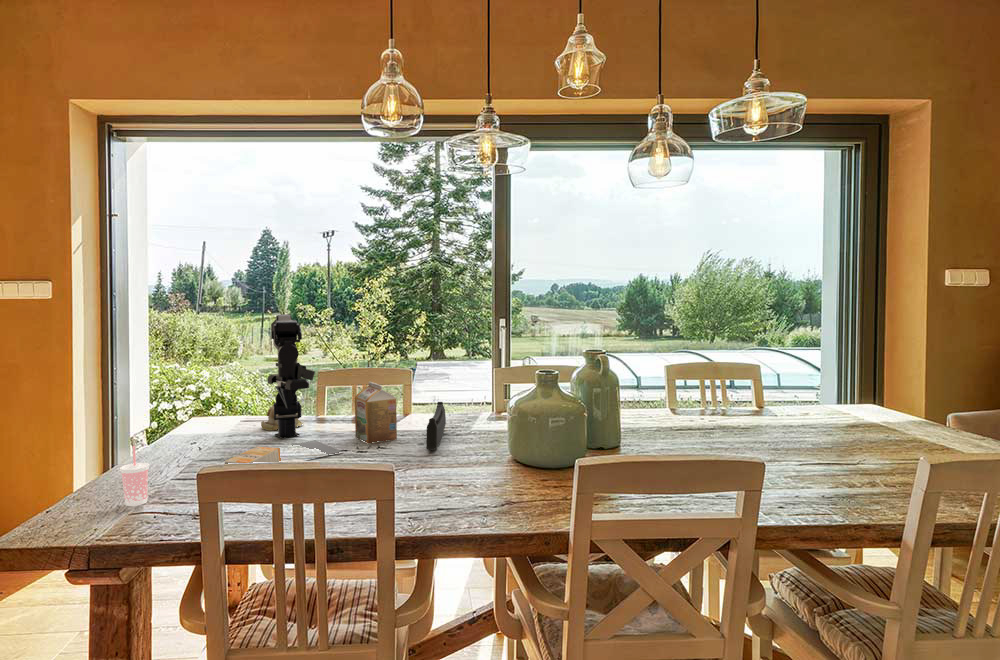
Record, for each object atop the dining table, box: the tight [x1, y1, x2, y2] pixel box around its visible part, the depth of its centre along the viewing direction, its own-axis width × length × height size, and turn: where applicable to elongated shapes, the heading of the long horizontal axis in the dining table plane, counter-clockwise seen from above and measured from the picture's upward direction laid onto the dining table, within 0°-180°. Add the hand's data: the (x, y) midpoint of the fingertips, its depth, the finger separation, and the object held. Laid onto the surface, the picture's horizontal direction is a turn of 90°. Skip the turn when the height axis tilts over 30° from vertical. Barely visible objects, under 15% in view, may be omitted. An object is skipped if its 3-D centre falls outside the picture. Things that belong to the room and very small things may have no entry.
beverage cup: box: [119, 445, 150, 507], centre depth 146 cm, size 6×6×14 cm
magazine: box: [425, 401, 447, 451], centre depth 204 cm, size 17×3×30 cm
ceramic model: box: [260, 404, 304, 431], centre depth 225 cm, size 14×11×10 cm
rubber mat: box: [291, 439, 344, 455], centre depth 188 cm, size 19×25×1 cm
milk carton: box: [354, 381, 398, 444], centre depth 207 cm, size 11×11×19 cm
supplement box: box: [223, 446, 281, 465], centre depth 171 cm, size 8×5×13 cm
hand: (288, 408), depth 195 cm, fingers closed
